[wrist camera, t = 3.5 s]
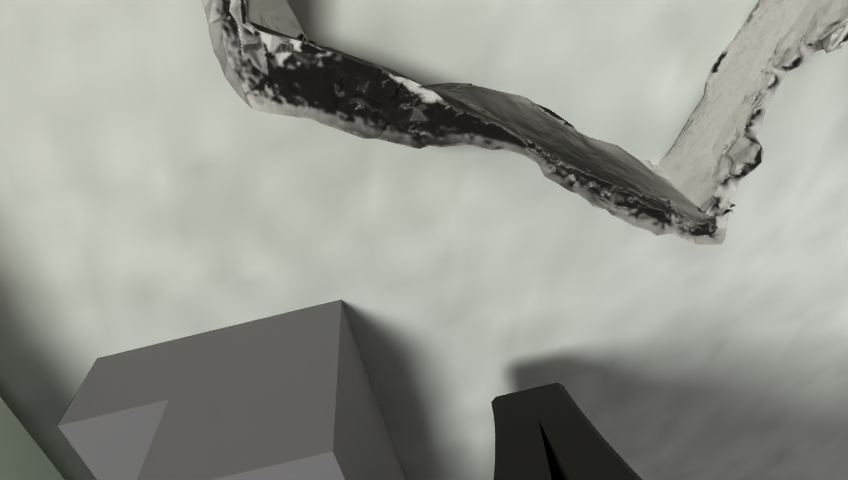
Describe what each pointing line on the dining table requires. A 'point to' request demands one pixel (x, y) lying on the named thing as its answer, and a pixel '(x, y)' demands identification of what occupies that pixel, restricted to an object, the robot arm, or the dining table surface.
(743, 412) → the dining table surface
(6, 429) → the door
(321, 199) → the dining table surface
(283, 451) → the grey stepped block
